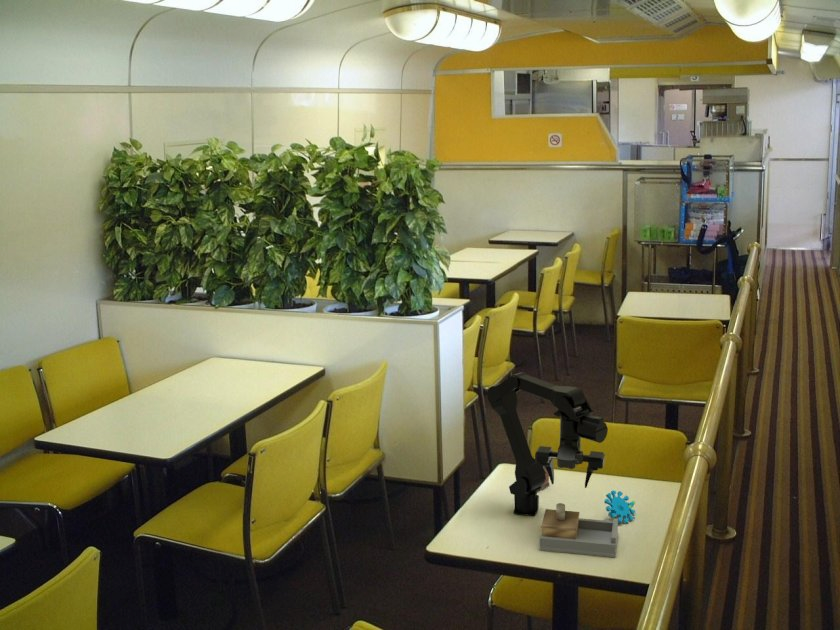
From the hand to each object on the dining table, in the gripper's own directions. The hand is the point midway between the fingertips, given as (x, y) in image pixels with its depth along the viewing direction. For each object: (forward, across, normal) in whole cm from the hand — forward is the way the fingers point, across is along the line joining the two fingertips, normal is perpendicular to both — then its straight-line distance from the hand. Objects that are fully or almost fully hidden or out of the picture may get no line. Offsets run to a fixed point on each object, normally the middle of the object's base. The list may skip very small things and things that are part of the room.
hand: (569, 485), depth 256 cm
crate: (+11, -1, -8) cm, 14 cm away
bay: (+12, +4, -8) cm, 15 cm away
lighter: (+13, -12, +24) cm, 30 cm away
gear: (+13, +14, +9) cm, 21 cm away
